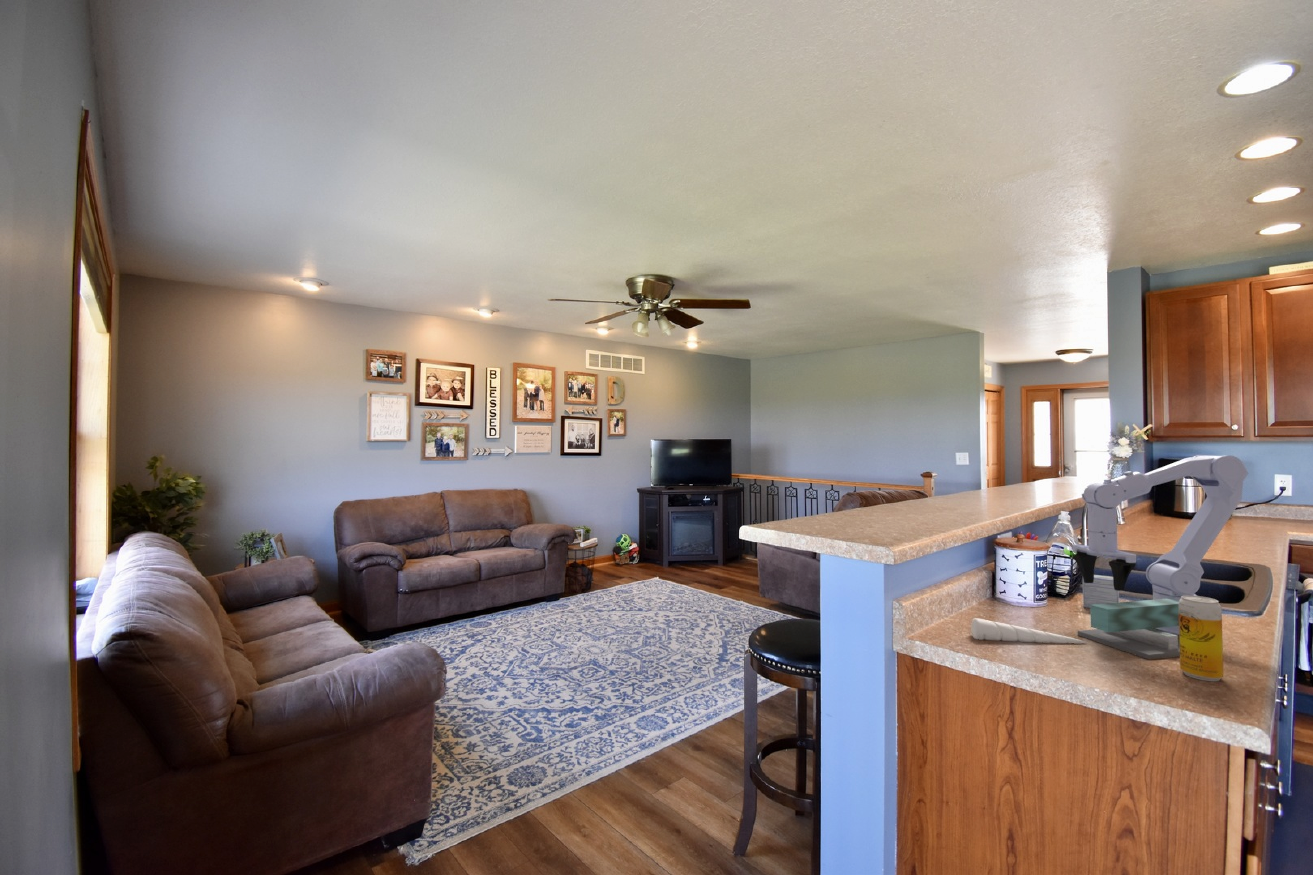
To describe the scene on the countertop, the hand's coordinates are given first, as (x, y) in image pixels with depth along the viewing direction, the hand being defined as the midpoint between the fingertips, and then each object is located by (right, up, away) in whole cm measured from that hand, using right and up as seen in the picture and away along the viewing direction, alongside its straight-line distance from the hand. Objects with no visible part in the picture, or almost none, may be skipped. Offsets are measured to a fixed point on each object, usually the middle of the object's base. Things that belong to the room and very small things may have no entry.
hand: (1103, 586), depth 141 cm
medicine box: (+12, -10, +16) cm, 22 cm away
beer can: (-5, -10, -31) cm, 33 cm away
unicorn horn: (-26, -11, -9) cm, 30 cm away
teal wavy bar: (-2, -6, -13) cm, 14 cm away
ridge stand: (-2, -10, -13) cm, 16 cm away
